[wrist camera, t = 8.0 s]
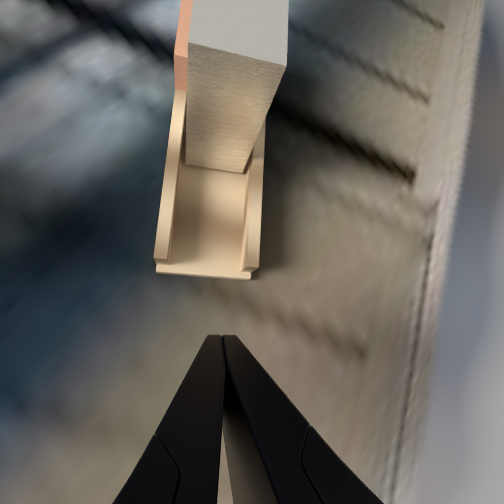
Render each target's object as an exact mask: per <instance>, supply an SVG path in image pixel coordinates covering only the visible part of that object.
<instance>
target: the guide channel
mask: <svg viewBox="0 0 504 504" xmlns="http://www.w3.org/2000/svg"><path fill="white" fill-rule="evenodd" d="M186 105H187V91H184V90H179V89H175V96H174V104H173V112H172V119H171V127H170V135H169V143H168V150H167V158H166V166H165V174H164V181H163V189H162V197H161V204H160V212H159V220H158V228H157V235H156V243H155V251H154V260H155V262H156V264H157V267H156V272H157V273H160V274H172V275H184V276H197V277H209V278H221V279H234V280H246V281H248V280H250V279H251V272H252V271H254V270H255V269H257V268H259V251H260V229H261V208H262V186H263V165H264V144H265V122H266V117H265V119H264V122H263V124H262V127H261V129H260V131H259V134H258V136H257V139H256V141H255V143H254V146H253V148H252V151H251V153H250V155H249V158H248V160H247V163H246V165H245V167H244V170H243V172H242V173H237V172H231V171H225V170H218V169H212V168H206V167H199V166H193V165H187V164H186V114H187V113H186Z"/></svg>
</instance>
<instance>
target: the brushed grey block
mask: <svg viewBox="0 0 504 504" xmlns="http://www.w3.org/2000/svg"><path fill="white" fill-rule="evenodd" d="M288 3H289V0H193V4H192V13H191V21H190V29H189V37H188V61H187V114H186V164H187V165H193V166H199V167H206V168H212V169H218V170H225V171H231V172H237V173H242V172H243V170H244V167H245V165H246V163H247V160H248V158H249V155H250V153H251V151H252V148H253V146H254V143H255V141H256V139H257V136H258V134H259V131H260V129H261V127H262V124H263V122H264V119H265V117H266V115H267V112H268V110H269V107H270V105H271V102H272V100H273V98H274V95H275V93H276V90H277V88H278V86H279V83H280V81H281V78H282V76H283V74H284V71H285V69H286V66H287V37H288Z"/></svg>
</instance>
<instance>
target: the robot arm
mask: <svg viewBox="0 0 504 504" xmlns="http://www.w3.org/2000/svg"><path fill="white" fill-rule="evenodd" d="M309 426H310V424H309V422H308V421H307V420H306V419H305V418H304V416H303V415H302V414H301V413H300V412H299V410H298V409H297V408H296V407H295V405H294V404H293V403H292V402H291V401H290V399H289V398H288V397H287V396H286V395H285V393H284V392H283V391H282V390H281V389H280V387H279V386H278V385H277V384H276V383H275V381H274V380H273V379H272V378H271V377H270V375H269V374H268V373H267V372H266V371H265V369H264V368H263V367H262V366H261V365H260V363H259V362H258V361H257V360H256V359H255V357H254V356H253V355H252V354H251V353H250V351H249V350H248V349H247V348H246V347H245V345H244V344H243V343H242V342H241V341H240V339H239V338H238V337H237V336H236V335H223V336H221V335H208V336H207V337H206V339H205V341H204V342H203V344H202V346H201V348H200V350H199V352H198V354H197V355H196V357H195V359H194V361H193V363H192V365H191V367H190V368H189V370H188V372H187V374H186V376H185V378H184V380H183V381H182V383H181V385H180V387H179V389H178V391H177V393H176V394H175V396H174V398H173V400H172V402H171V404H170V406H169V408H168V409H167V411H166V413H165V415H164V417H163V419H162V421H161V422H160V424H159V426H158V428H157V430H156V432H155V435H153V437H152V438H151V440H150V442H149V444H148V446H147V448H146V449H145V451H144V453H143V455H142V457H141V458H140V460H139V462H138V463H137V465H136V467H135V469H134V470H133V472H132V474H131V476H130V477H129V479H128V480H127V482H126V483H125V485H124V487H123V488H122V490H121V491H120V493H119V494H118V496H117V497H116V499H115V500H114V502H113V503H112V504H217V496H218V481H219V467H220V452H221V438H222V428H223V435H224V442H225V449H226V455H227V462H228V469H229V476H230V483H231V490H232V496H233V503H234V504H384V503H383V502H382V501H381V500H380V499H379V498H378V497H377V496H376V495H375V494H374V493H373V492H372V491H371V490H370V489H369V488H368V487H367V486H366V485H365V484H364V483H363V482H362V481H361V480H360V479H359V478H358V477H357V476H356V475H355V474H354V473H353V472H352V471H351V470H350V468H349V467H348V466H347V465H346V464H345V463H344V462H343V461H342V460H341V459H340V458H339V457H338V456H337V454H336V453H335V452H334V451H333V450H332V449H331V448H330V446H329V445H328V444H327V443H326V442H325V441H324V440H323V438H322V437H321V436H320V435H319V434H318V432H317V431H316V430H315V429H314V428H313V426H310V427H309Z"/></svg>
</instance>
